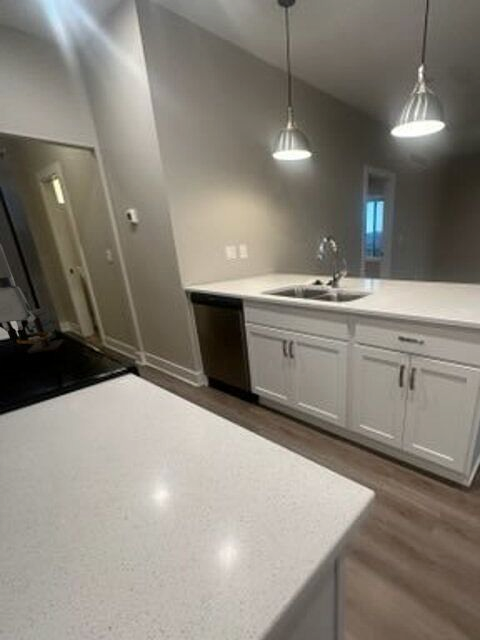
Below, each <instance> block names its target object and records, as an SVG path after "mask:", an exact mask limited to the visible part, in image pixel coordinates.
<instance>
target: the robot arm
mask: <svg viewBox="0 0 480 640" xmlns="http://www.w3.org/2000/svg"><path fill="white" fill-rule="evenodd" d="M12 273H13V272H12V270H11V267H10V266H9V262H8V259H7V256H6V254H5V251H4V249H3V246H2V244H1V243H0V328H1V329H2V330H4V331H5V332H6V333H7V335H8V337H9V339H10V341H12V343H13V344H16V343H17V342H16V339H17V338H19V337H20V340H28V336H27V333H26V330H25V327H26V325H27V324H28V323H29V322H32V321H34V320H35V319H36V318H35V317H34V316H33V314H32V313H31V310H30V307H29V305H28V303H27V300H26V298H25V296H24V294H23V293H22V291H23V290H22V289H21V288H20V287H19V285H16V282H15V279H14V277H13V274H12ZM21 290H22V291H21ZM27 317H28V319H26V318H27ZM24 319H25V320H24ZM11 322H16V326H17V330H16V328H14V327H13V325H12V323H11Z"/></svg>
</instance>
